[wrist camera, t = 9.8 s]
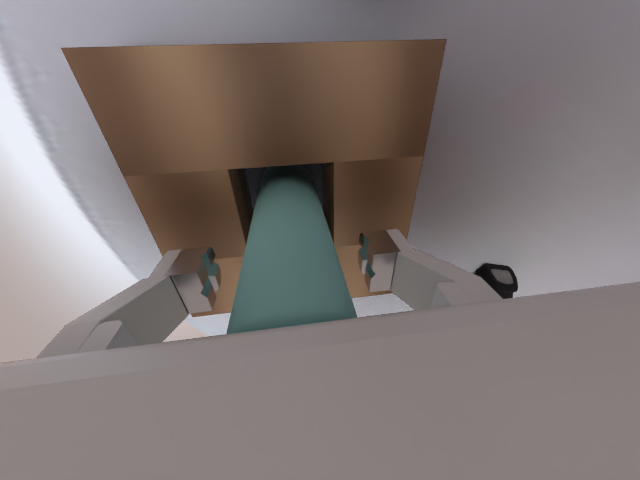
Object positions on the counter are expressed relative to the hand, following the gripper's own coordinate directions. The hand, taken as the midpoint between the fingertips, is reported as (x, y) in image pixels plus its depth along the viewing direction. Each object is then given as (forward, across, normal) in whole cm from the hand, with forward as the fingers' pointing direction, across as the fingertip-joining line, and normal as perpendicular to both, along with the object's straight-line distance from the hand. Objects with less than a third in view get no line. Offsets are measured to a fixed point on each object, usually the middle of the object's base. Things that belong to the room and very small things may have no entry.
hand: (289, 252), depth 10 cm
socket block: (+8, 0, 0) cm, 8 cm away
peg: (+8, 0, 0) cm, 8 cm away
